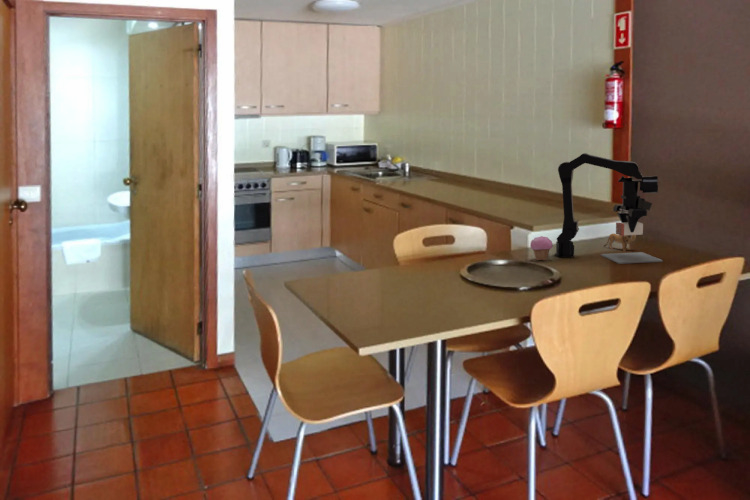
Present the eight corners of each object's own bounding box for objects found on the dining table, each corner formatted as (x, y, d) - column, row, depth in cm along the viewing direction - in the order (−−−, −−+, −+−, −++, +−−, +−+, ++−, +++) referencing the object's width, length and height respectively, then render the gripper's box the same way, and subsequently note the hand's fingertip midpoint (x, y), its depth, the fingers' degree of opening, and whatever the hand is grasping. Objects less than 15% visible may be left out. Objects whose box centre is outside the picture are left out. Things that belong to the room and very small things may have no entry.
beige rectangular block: (642, 234, 270) (643, 223, 270) (621, 235, 270) (621, 224, 269) (637, 232, 275) (637, 221, 275) (615, 233, 275) (616, 222, 274)
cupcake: (552, 258, 280) (552, 234, 278) (552, 262, 272) (552, 238, 270) (530, 257, 282) (530, 234, 281) (529, 262, 274) (529, 238, 272)
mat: (618, 263, 265) (619, 262, 265) (600, 255, 283) (600, 254, 283) (662, 261, 266) (663, 260, 266) (642, 253, 284) (642, 252, 284)
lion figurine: (637, 250, 292) (638, 229, 291) (632, 251, 289) (633, 231, 287) (605, 246, 302) (606, 227, 301) (600, 248, 299) (600, 228, 297)
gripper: (660, 194, 261) (659, 233, 264) (639, 190, 279) (638, 227, 282) (633, 195, 260) (632, 235, 263) (613, 191, 279) (612, 228, 281)
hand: (629, 231), depth 272 cm, fingers closed on beige rectangular block, 5 cm apart
